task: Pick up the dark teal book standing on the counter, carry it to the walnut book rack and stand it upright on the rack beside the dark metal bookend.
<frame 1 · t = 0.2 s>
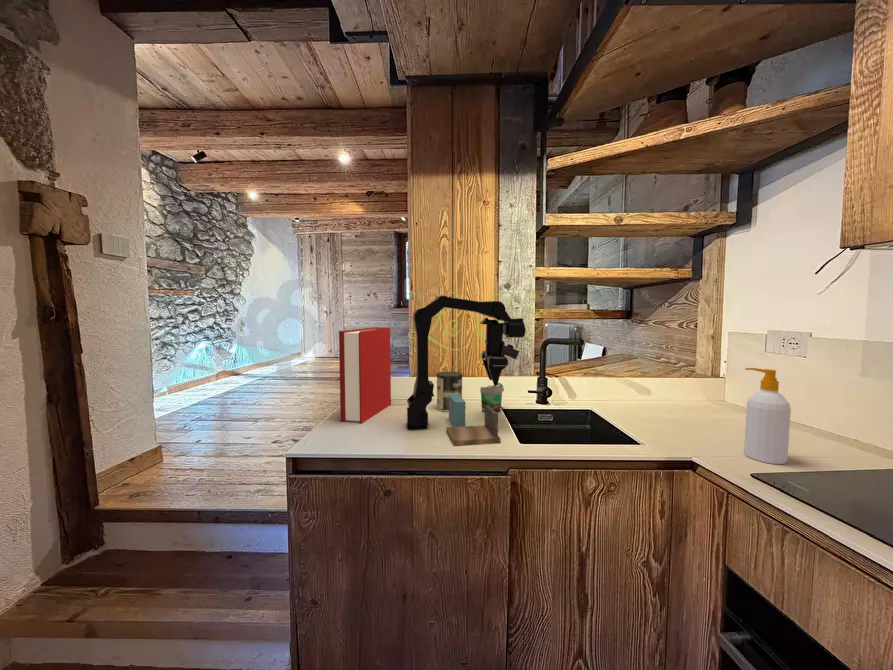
hand: (493, 382, 124), 14 cm above the worktop, tool pointing down, fingers open, 9 cm apart
book: (368, 412, 137), on the worktop
coffee can: (449, 409, 142), on the worktop
food container: (494, 411, 139), on the worktop
soap bottle: (762, 458, 95), on the worktop
book rack: (472, 437, 110), on the worktop
teal book: (456, 423, 123), on the worktop
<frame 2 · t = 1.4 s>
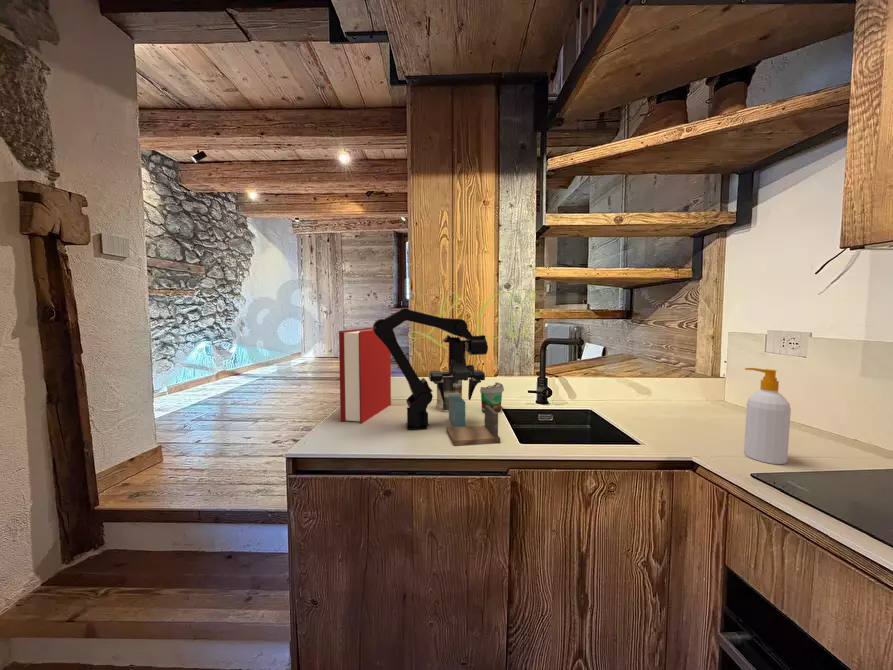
hand: (456, 400, 123), 8 cm above the worktop, tool pointing down, fingers open, 9 cm apart
nothing on the worktop moved.
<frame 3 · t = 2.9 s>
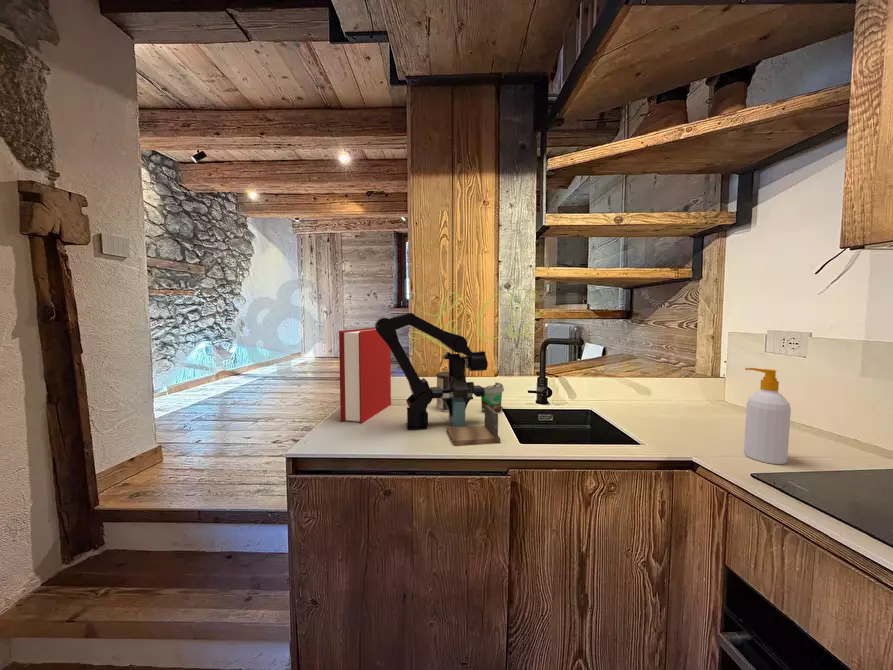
hand: (456, 416, 123), 3 cm above the worktop, tool pointing down, fingers closed on teal book, 3 cm apart
teal book: (456, 423, 123), on the worktop, touching gripper
everything else where it was.
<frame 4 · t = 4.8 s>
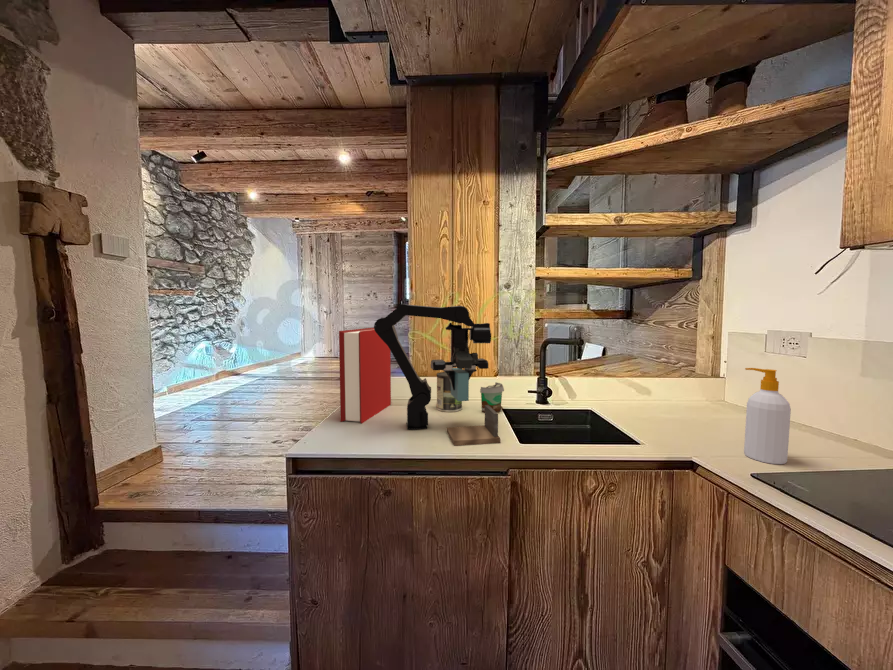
hand: (459, 389, 120), 13 cm above the worktop, tool pointing down, fingers closed on teal book, 3 cm apart
teal book: (459, 397, 120), point 10 cm above the worktop, touching gripper
everything else where it was.
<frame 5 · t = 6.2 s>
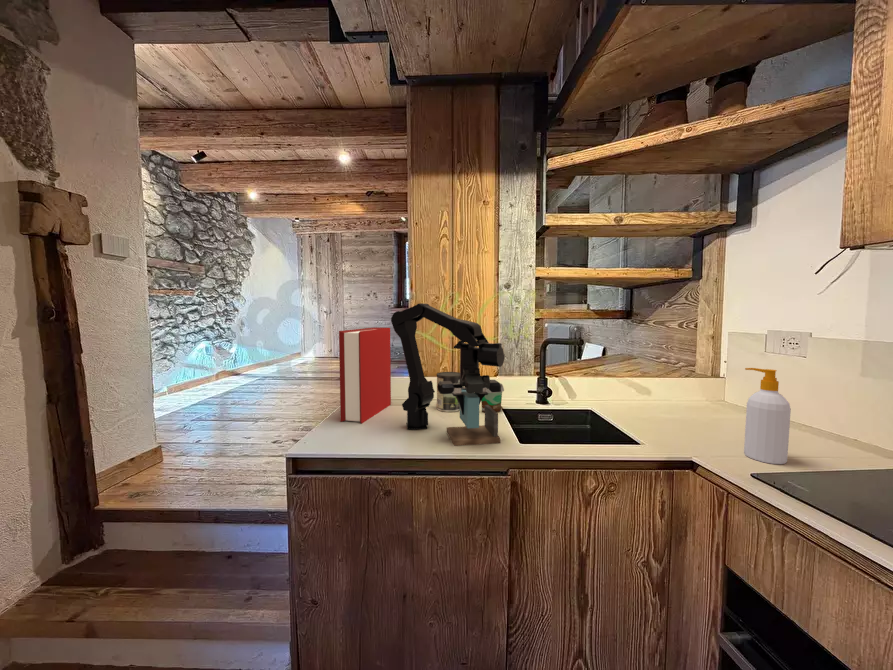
hand: (468, 414, 109), 7 cm above the worktop, tool pointing down, fingers closed on teal book, 3 cm apart
teal book: (468, 422, 109), point 5 cm above the worktop, touching gripper
everything else where it was.
when the fingers open (4 cm above the worktop, at t = 7.1 s): teal book stays where it is, resting on book rack.
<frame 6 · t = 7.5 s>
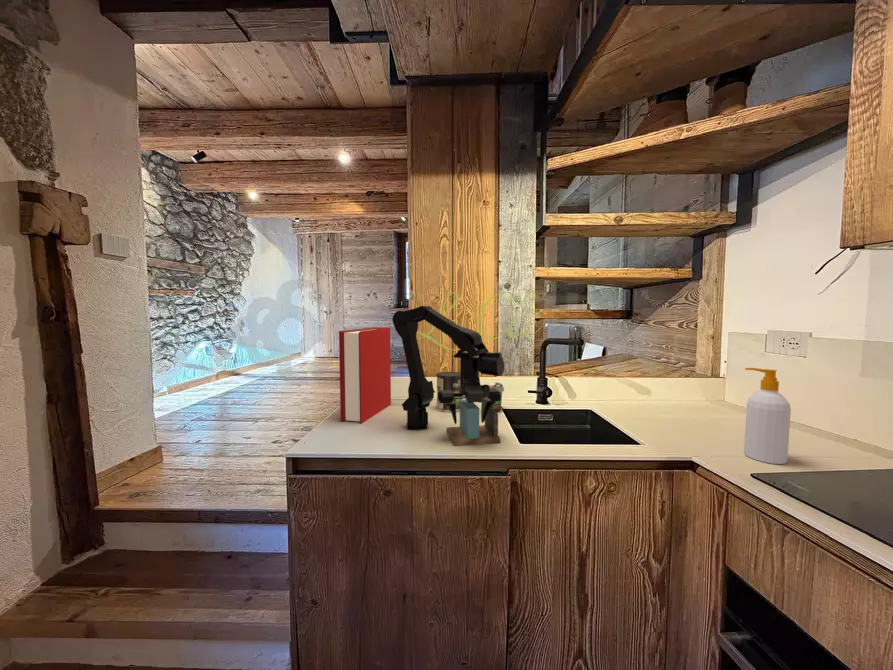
hand: (469, 423, 109), 4 cm above the worktop, tool pointing down, fingers open, 8 cm apart
teal book: (468, 432, 110), point 1 cm above the worktop, touching book rack
everything else where it was.
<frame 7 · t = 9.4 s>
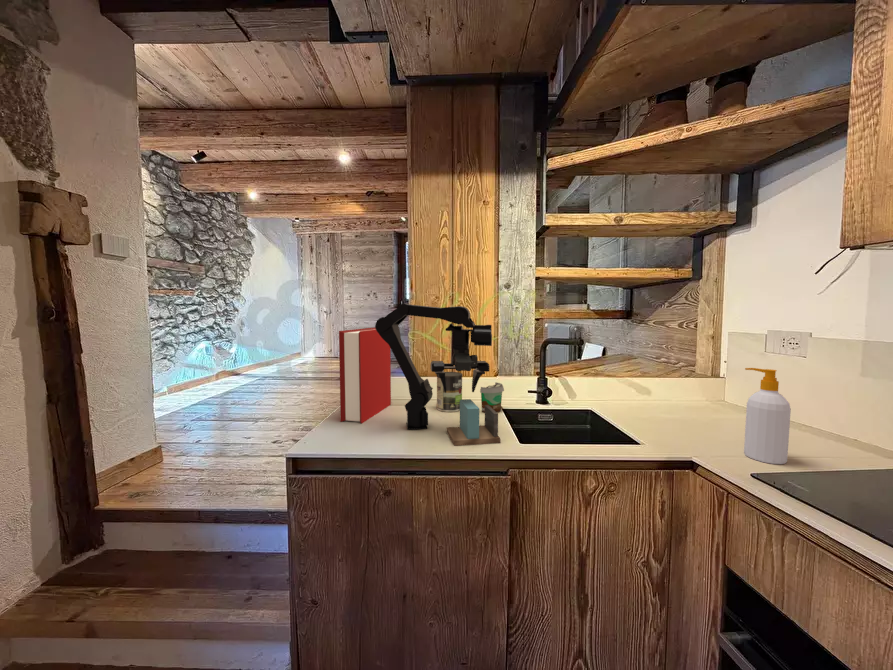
hand: (459, 392, 117), 12 cm above the worktop, tool pointing down, fingers open, 9 cm apart
nothing on the worktop moved.
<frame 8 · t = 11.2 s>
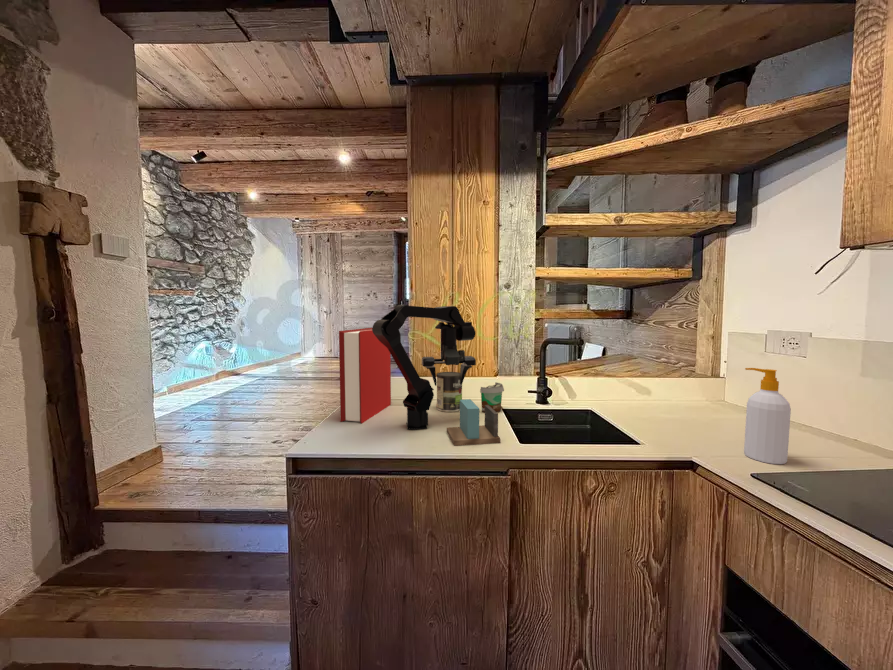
hand: (448, 385, 127), 12 cm above the worktop, tool pointing down, fingers open, 9 cm apart
nothing on the worktop moved.
at the end: teal book inside the target area (0.3 cm from its centre), point 1.5 cm above the worktop; teal book tilted 0°; the gripper is holding nothing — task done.
